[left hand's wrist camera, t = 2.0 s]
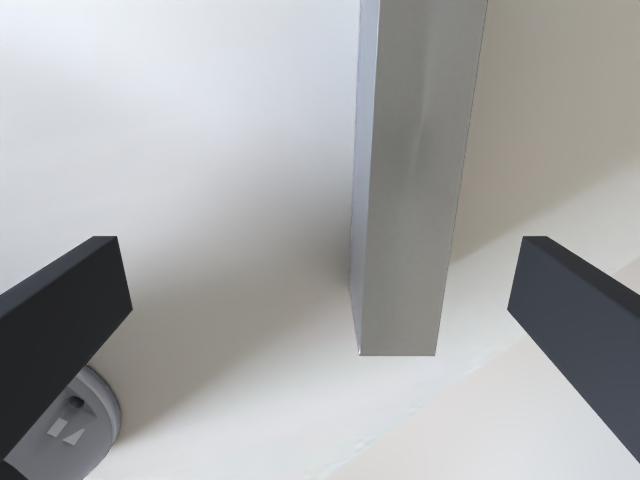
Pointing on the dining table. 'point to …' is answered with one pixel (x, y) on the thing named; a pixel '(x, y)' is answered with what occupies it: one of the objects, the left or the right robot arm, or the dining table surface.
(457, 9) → the bar
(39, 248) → the dining table surface
